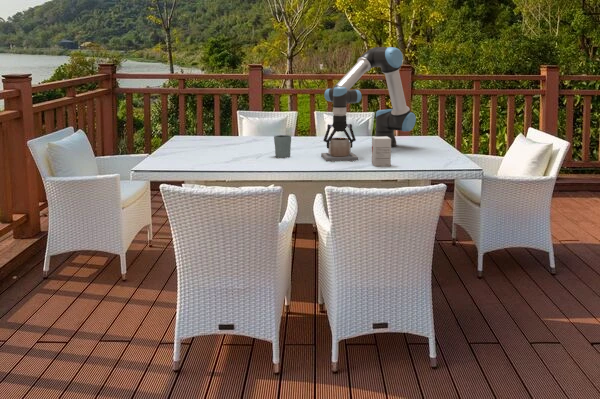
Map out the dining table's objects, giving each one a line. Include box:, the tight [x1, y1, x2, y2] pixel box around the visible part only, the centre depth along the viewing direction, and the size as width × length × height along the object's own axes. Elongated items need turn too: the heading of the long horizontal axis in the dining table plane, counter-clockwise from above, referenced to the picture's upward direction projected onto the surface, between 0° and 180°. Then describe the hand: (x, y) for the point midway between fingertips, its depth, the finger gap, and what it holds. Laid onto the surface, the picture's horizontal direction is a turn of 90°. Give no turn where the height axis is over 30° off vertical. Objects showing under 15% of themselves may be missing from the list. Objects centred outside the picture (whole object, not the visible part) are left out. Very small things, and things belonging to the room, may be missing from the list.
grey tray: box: [320, 152, 359, 163], centre depth 408 cm, size 18×21×2 cm
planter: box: [330, 137, 350, 157], centre depth 408 cm, size 11×11×10 cm
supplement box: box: [371, 136, 392, 167], centre depth 386 cm, size 9×9×15 cm
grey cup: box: [273, 134, 292, 159], centre depth 416 cm, size 10×10×12 cm
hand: (339, 153), depth 409 cm, fingers closed on planter, 11 cm apart
